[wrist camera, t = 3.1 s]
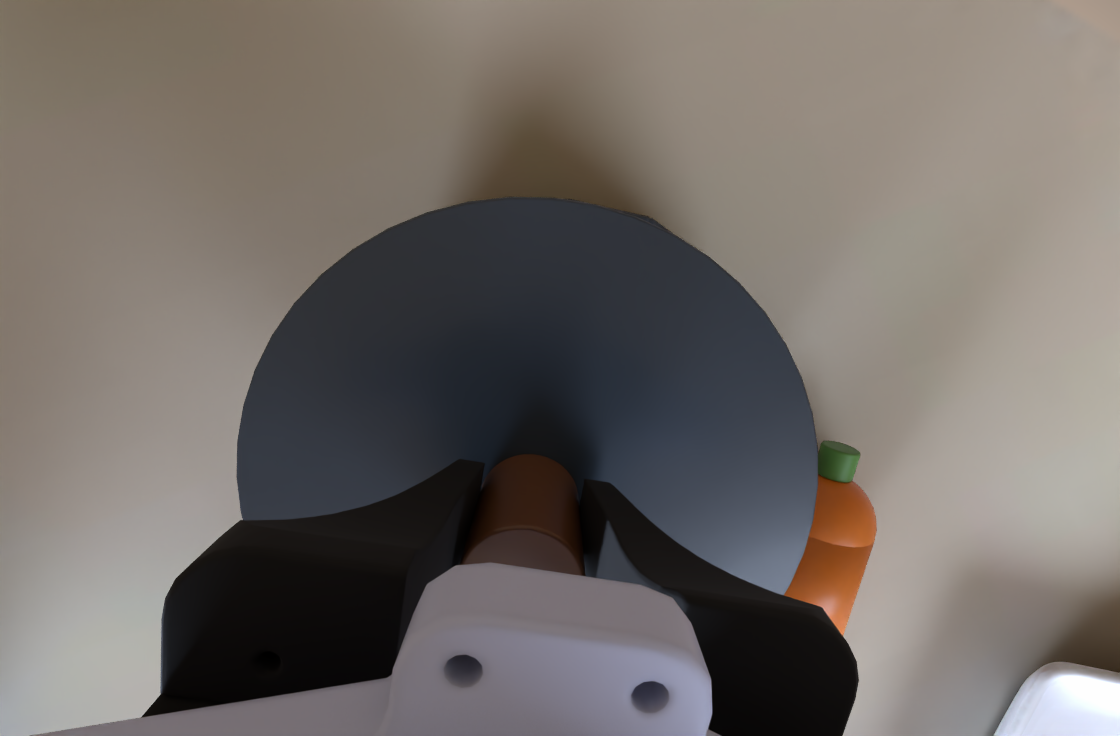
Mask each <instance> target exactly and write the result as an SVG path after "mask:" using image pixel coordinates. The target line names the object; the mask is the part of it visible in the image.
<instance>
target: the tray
mask: <svg viewBox="0 0 1120 736" xmlns="http://www.w3.org/2000/svg"><path fill="white" fill-rule="evenodd" d="M994 736H1120V673H1117V672H1113V671H1108V670H1104V669H1099V668H1094V667H1089V666H1084V665H1079V664H1074V663H1069V662H1052V663H1049V664H1046V665H1044V666H1042V667H1040V668H1039V669H1038V670H1036V671H1035V672H1034V673H1033V674H1031V675H1030V676H1029V677H1028V678H1027V679H1026V680H1025V682H1024V683H1023V684H1022V686H1021V687H1020V689H1019V691H1018V693H1017V694H1016V696H1015V698H1014V699H1013V701H1012V703H1011V705H1010V706H1009V708H1008V710H1007V712H1006V714H1005V715H1004V717H1003V719H1002V721H1001V723H1000V724H999V726H998V728H997V730H996V732H995V734H994Z"/></svg>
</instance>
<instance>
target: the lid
mask: <svg viewBox="0 0 1120 736" xmlns="http://www.w3.org/2000/svg"><path fill="white" fill-rule="evenodd" d="M458 459H464V460H471V461H477V462H483V463H485V465H484V472H483V478H482V485H481V491H480V495H479V499H478V502H477V506H476V509H475V513H474V516H473V519H472V522H471V526H470V529H469V533H468V536H467V540H466V543H465V547H464V550H463V554H462V557H461V561H460V564H459V565H467V564H479V563H491V562H492V563H498V564H505V565H512V566H519V567H525V568H532V569H539V570H545V571H552V572H559V573H566V574H572V575H579V576H586V575H585V564H584V553H583V542H582V531H581V521H580V510H579V504H580V499H581V494H582V489H583V484H584V479H591V480H597V481H604V482H610V483H611V484H612V485H614V486H615V487H616V488H617V489H618V490H619V491H620V492H621V493H622V494H623V495H624V496H625V497H626V498H627V499H628V500H629V501H630V502H631V503H632V504H633V505H634V506H635V507H636V508H637V509H638V510H639V511H640V512H641V513H642V514H644V515H645V516H646V517H647V518H648V519H649V520H650V521H651V522H652V523H654V524H655V525H656V526H657V527H658V528H660V529H661V530H662V531H663V532H664V533H666V534H667V535H668V536H669V537H671V538H672V539H673V540H675V541H676V542H677V543H679V544H680V545H682V546H683V547H685V548H686V549H688V550H689V551H691V552H692V553H694V554H695V555H697V556H699V557H700V558H702V559H704V560H705V561H707V562H709V563H711V564H713V565H715V566H716V567H718V568H720V569H722V570H724V571H726V572H728V573H730V574H732V575H734V576H736V577H738V578H741V579H743V580H745V581H747V582H750V583H752V584H755V585H757V586H760V587H762V588H765V589H767V590H770V591H772V592H775V593H778V594H781V595H784V594H785V593H786V591H787V589H788V588H789V586H790V584H791V582H792V580H793V577H794V575H795V573H796V570H797V568H798V566H799V564H800V561H801V559H802V557H803V554H804V552H805V548H806V544H807V541H808V537H809V534H810V530H811V526H812V523H813V519H814V512H815V504H816V497H817V489H818V447H817V440H816V434H815V427H814V420H813V414H812V410H811V407H810V403H809V400H808V397H807V394H806V390H805V387H804V384H803V380H802V377H801V375H800V373H799V371H798V369H797V367H796V364H795V362H794V360H793V358H792V356H791V354H790V352H789V349H788V347H787V345H786V343H785V342H784V340H783V339H782V337H781V336H780V334H779V333H778V331H777V330H776V328H775V327H774V325H773V323H772V322H771V320H770V319H769V317H768V316H767V314H766V313H765V311H764V310H763V309H762V308H761V307H760V306H759V305H758V303H757V302H756V301H755V300H754V299H753V298H752V297H751V296H750V294H749V293H748V292H747V291H746V290H745V289H744V288H743V286H742V285H741V284H740V283H739V282H738V281H737V280H736V279H734V278H733V277H732V276H731V275H730V274H729V273H727V272H726V271H725V270H724V269H723V268H722V267H720V266H719V265H718V264H717V263H716V262H715V261H713V260H712V259H711V258H710V257H709V256H707V255H706V254H704V253H703V252H701V251H699V250H698V249H696V248H695V247H693V246H692V245H690V244H689V243H687V242H685V241H684V240H682V239H681V238H679V237H678V236H676V235H674V234H673V233H670V232H668V231H666V230H664V229H662V228H659V227H657V226H655V225H653V224H651V223H649V222H646V221H644V220H642V219H640V218H638V217H635V216H632V215H629V214H625V213H622V212H619V211H616V210H612V209H609V208H606V207H602V206H599V205H596V204H590V203H583V202H577V201H571V200H564V199H558V198H543V197H504V198H496V199H487V200H479V201H470V202H465V203H461V204H457V205H453V206H450V207H446V208H442V209H438V210H434V211H430V212H427V213H424V214H422V215H419V216H417V217H414V218H412V219H410V220H407V221H405V222H402V223H400V224H398V225H395V226H393V227H390V228H388V229H386V230H385V231H383V232H381V233H379V234H378V235H376V236H374V237H373V238H371V239H369V240H368V241H366V242H364V243H362V244H361V245H359V246H357V247H356V248H354V249H352V250H351V251H350V252H349V253H347V254H346V255H345V256H344V257H342V258H341V259H340V260H339V261H337V262H336V263H335V264H334V265H332V266H331V267H330V268H329V269H327V270H326V271H325V272H324V273H322V274H321V275H320V276H319V277H318V278H317V279H316V281H315V282H314V283H313V284H312V285H311V286H310V287H309V288H308V289H307V290H306V291H305V292H304V293H303V294H302V295H301V297H300V298H299V299H298V300H297V301H296V302H295V303H294V304H293V306H292V307H291V309H290V310H289V311H288V313H287V314H286V316H285V317H284V319H283V320H282V322H281V323H280V324H279V326H278V327H277V329H276V330H275V332H274V333H273V335H272V336H271V338H270V340H269V342H268V344H267V346H266V348H265V350H264V352H263V354H262V356H261V358H260V360H259V362H258V365H257V367H256V369H255V371H254V374H253V377H252V381H251V384H250V387H249V390H248V393H247V396H246V399H245V402H244V406H243V411H242V417H241V423H240V429H239V435H238V442H237V483H238V492H239V500H240V508H241V514H242V518H243V520H283V519H297V518H306V517H315V516H321V515H328V514H333V513H338V512H342V511H346V510H350V509H355V508H359V507H363V506H367V505H370V504H373V503H376V502H379V501H381V500H384V499H387V498H389V497H392V496H394V495H397V494H399V493H401V492H403V491H405V490H407V489H409V488H411V487H413V486H415V485H417V484H419V483H421V482H423V481H425V480H426V479H428V478H430V477H431V476H433V475H434V474H436V473H438V472H439V471H441V470H443V469H444V468H446V467H447V466H449V465H450V464H452V463H453V462H455V461H456V460H458Z"/></svg>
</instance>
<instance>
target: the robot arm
mask: <svg viewBox="0 0 1120 736" xmlns="http://www.w3.org/2000/svg"><path fill="white" fill-rule="evenodd" d="M484 465H485V463H483V462H477V461H471V460H464V459H458V460H456V461H455V462H453V463H452V464H450V465H449V466H447V467H446V468H444V469H443V470H441V471H439V472H438V473H436V474H434V475H433V476H431V477H430V478H428V479H426V480H425V481H423V482H421V483H419V484H417V485H415V486H413V487H411V488H409V489H407V490H405V491H403V492H401V493H399V494H397V495H394V496H392V497H389V498H387V499H384V500H381V501H379V502H376V503H373V504H370V505H367V506H363V507H359V508H355V509H350V510H346V511H342V512H338V513H333V514H328V515H321V516H315V517H306V518H297V519H283V520H240V521H239V522H238V523H236V524H235V525H234V526H233V527H231V528H230V529H229V530H228V531H227V532H225V533H224V534H223V535H222V536H221V537H219V538H218V539H217V540H216V541H215V542H214V543H213V544H212V545H211V546H210V547H209V548H208V549H207V550H206V551H204V552H203V553H202V554H201V555H200V556H199V557H198V558H197V559H196V560H195V561H194V562H193V563H192V564H191V565H190V566H189V567H187V568H186V569H185V570H184V571H183V572H182V573H181V574H180V575H179V576H178V577H177V578H176V579H175V581H174V583H173V585H172V586H171V588H170V590H169V592H168V594H167V596H166V598H165V603H164V609H163V614H162V630H161V695H160V696H159V697H158V698H157V700H156V701H155V702H154V703H153V704H152V705H151V707H150V708H149V709H148V710H147V711H146V712H145V714H144V715H143V716H142V717H141V718H136V719H129V720H123V721H117V722H111V723H105V724H99V725H92V726H86V727H80V728H74V729H68V730H61V731H55V732H49V733H43V734H37V735H31V736H842V735H843V733H844V730H845V727H846V724H847V721H848V718H849V715H850V713H851V710H852V707H853V704H854V701H855V697H856V692H857V687H858V682H859V679H858V670H857V662H856V659H855V657H854V655H853V653H852V651H851V649H850V647H849V644H848V643H847V641H846V640H845V639H844V637H843V636H842V634H841V633H840V632H839V630H838V629H837V627H836V626H835V625H834V623H833V622H832V620H831V619H830V618H829V616H828V615H827V614H826V612H825V611H824V609H823V608H822V607H820V606H817V605H813V604H810V603H807V602H804V601H801V600H797V599H794V598H791V597H788V596H784V595H781V594H778V593H775V592H772V591H770V590H767V589H765V588H762V587H760V586H757V585H755V584H752V583H750V582H747V581H745V580H743V579H741V578H738V577H736V576H734V575H732V574H730V573H728V572H726V571H724V570H722V569H720V568H718V567H716V566H715V565H713V564H711V563H709V562H707V561H705V560H704V559H702V558H700V557H699V556H697V555H695V554H694V553H692V552H691V551H689V550H688V549H686V548H685V547H683V546H682V545H680V544H679V543H677V542H676V541H675V540H673V539H672V538H671V537H669V536H668V535H667V534H666V533H664V532H663V531H662V530H661V529H660V528H658V527H657V526H656V525H655V524H654V523H652V522H651V521H650V520H649V519H648V518H647V517H646V516H645V515H644V514H642V513H641V512H640V511H639V510H638V509H637V508H636V507H635V506H634V505H633V504H632V503H631V502H630V501H629V500H628V499H627V498H626V497H625V496H624V495H623V494H622V493H621V492H620V491H619V490H618V489H617V488H616V487H615V486H614V485H612V484H611V483H610V482H604V481H597V480H591V479H584V484H583V489H582V494H581V499H580V504H579V510H580V521H581V531H582V542H583V553H584V564H585V575H586V576H579V575H572V574H566V573H559V572H552V571H545V570H539V569H532V568H525V567H519V566H512V565H505V564H498V563H492V562H491V563H479V564H467V565H459V564H460V561H461V557H462V554H463V550H464V547H465V543H466V540H467V536H468V533H469V529H470V526H471V522H472V519H473V516H474V513H475V509H476V506H477V502H478V499H479V495H480V491H481V485H482V478H483V472H484Z"/></svg>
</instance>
